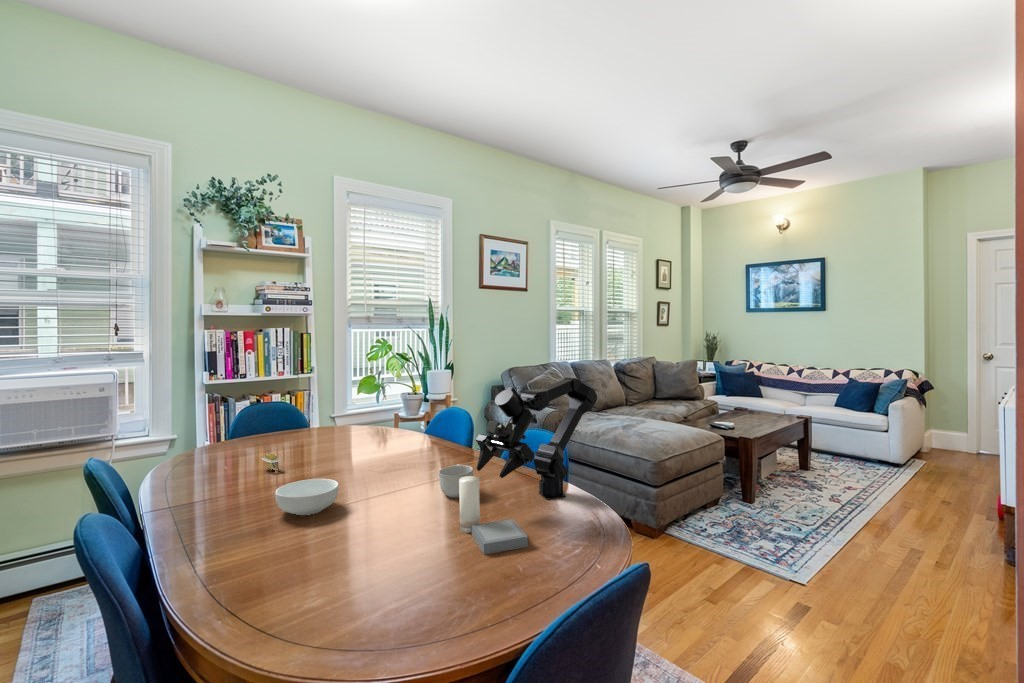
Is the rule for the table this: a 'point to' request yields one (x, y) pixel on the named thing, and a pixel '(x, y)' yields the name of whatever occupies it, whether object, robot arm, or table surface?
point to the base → (499, 536)
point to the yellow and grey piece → (272, 460)
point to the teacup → (453, 478)
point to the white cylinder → (469, 503)
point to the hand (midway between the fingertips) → (488, 473)
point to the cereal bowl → (307, 496)
